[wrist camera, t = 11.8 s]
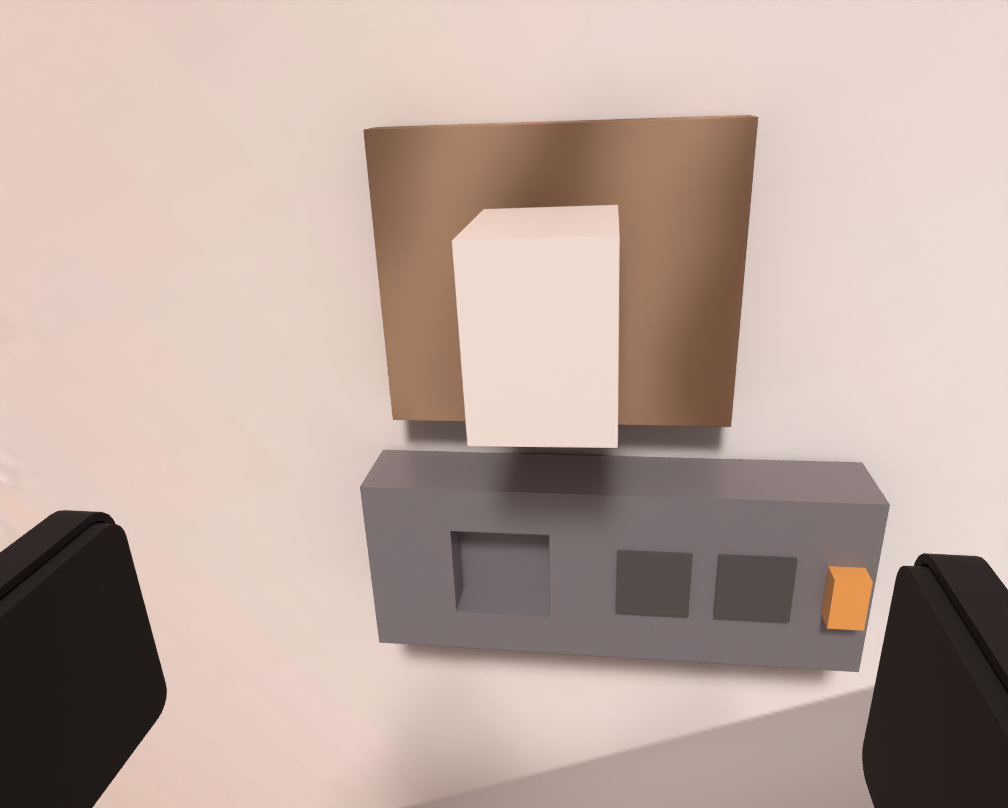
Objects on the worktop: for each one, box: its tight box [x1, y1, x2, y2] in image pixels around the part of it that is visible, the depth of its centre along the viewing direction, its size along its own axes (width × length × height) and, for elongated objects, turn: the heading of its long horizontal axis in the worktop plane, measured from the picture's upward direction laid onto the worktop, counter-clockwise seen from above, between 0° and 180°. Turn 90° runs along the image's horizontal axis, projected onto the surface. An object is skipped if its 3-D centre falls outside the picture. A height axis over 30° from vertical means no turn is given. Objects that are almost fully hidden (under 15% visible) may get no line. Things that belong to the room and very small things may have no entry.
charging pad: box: [364, 115, 758, 427], centre depth 26 cm, size 12×10×2 cm
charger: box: [452, 205, 620, 448], centre depth 22 cm, size 4×6×6 cm
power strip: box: [360, 450, 890, 672], centre depth 28 cm, size 18×7×4 cm, turn 92°
